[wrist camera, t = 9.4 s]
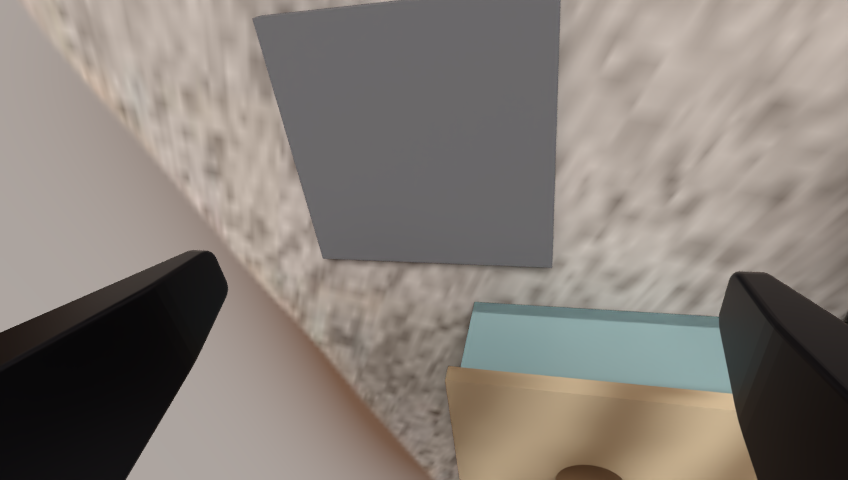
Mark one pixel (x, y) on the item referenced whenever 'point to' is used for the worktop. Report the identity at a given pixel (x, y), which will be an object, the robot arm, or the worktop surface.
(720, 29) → the worktop surface
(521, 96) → the mat
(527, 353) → the light blue box
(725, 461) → the lid
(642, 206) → the worktop surface
